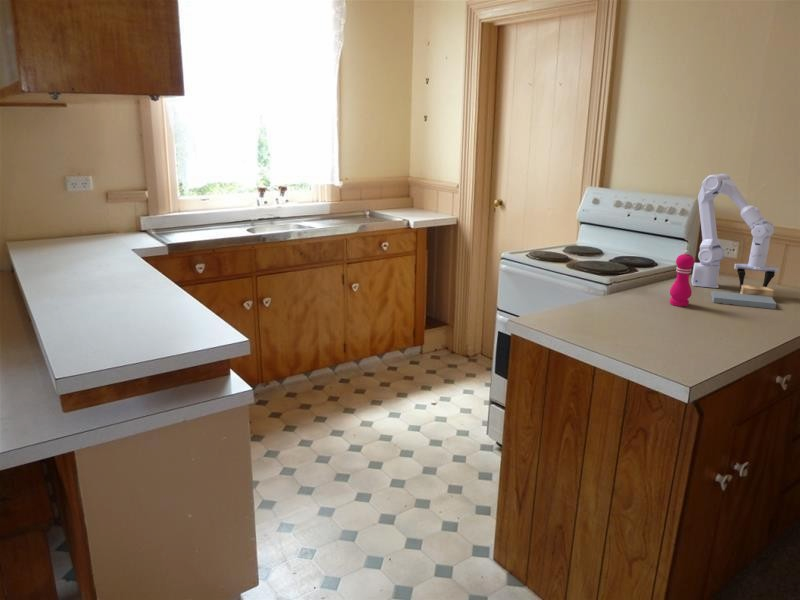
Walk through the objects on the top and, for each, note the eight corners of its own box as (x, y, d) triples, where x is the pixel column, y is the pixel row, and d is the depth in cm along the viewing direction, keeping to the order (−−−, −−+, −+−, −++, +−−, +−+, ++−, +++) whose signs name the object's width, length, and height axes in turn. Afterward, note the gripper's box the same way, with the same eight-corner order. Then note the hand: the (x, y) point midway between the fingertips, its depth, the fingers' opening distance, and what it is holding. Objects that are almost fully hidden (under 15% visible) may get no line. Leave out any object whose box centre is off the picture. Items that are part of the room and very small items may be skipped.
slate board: (713, 302, 230) (714, 297, 229) (710, 295, 239) (711, 290, 238) (775, 309, 223) (776, 303, 223) (770, 301, 232) (771, 296, 232)
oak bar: (741, 299, 235) (743, 288, 234) (739, 296, 240) (741, 284, 239) (771, 302, 232) (773, 290, 231) (769, 299, 237) (771, 287, 235)
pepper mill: (668, 305, 226) (675, 251, 220) (668, 300, 232) (675, 247, 226) (690, 308, 223) (698, 253, 217) (689, 302, 229) (697, 249, 224)
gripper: (738, 254, 236) (732, 289, 240) (782, 258, 231) (775, 293, 235) (736, 251, 242) (730, 285, 246) (779, 254, 237) (772, 289, 241)
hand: (752, 289), depth 241 cm, fingers open, 7 cm apart
